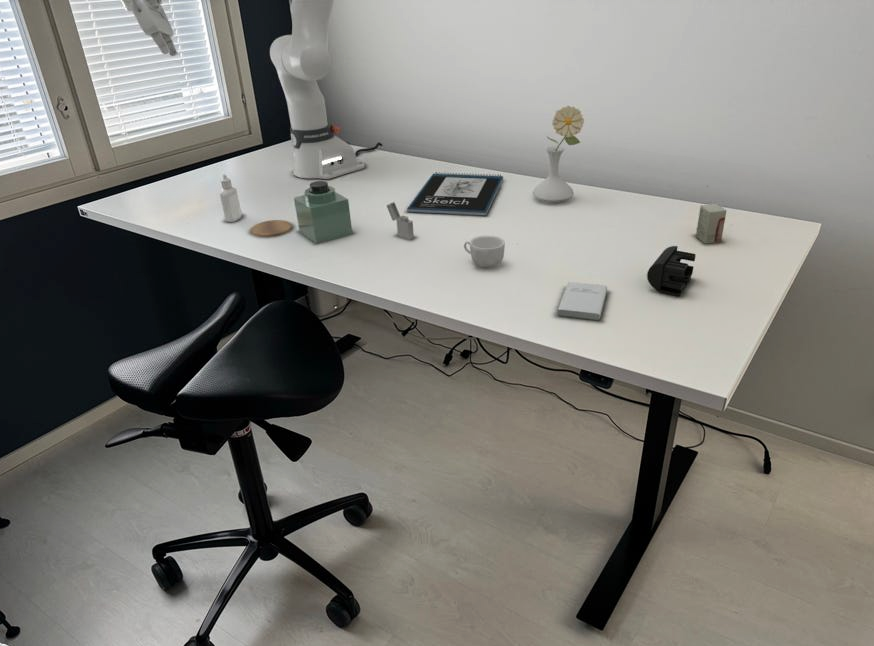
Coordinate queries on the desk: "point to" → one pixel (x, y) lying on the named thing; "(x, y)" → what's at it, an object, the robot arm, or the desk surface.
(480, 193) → the sketchbook
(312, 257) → the desk surface
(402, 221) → the lighter
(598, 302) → the hard drive
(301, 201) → the dispenser
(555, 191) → the flower in vase
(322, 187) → the grey short cylinder
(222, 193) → the eye dropper bottle
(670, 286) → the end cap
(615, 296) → the desk surface
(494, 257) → the teacup
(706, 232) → the small box
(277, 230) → the coaster
